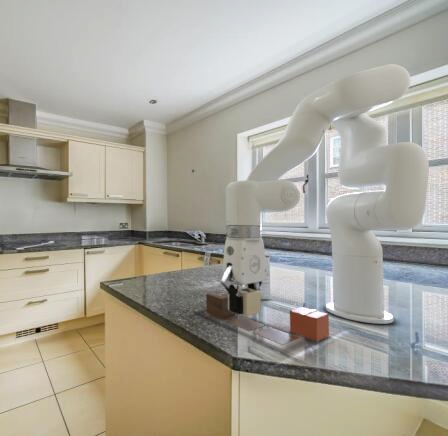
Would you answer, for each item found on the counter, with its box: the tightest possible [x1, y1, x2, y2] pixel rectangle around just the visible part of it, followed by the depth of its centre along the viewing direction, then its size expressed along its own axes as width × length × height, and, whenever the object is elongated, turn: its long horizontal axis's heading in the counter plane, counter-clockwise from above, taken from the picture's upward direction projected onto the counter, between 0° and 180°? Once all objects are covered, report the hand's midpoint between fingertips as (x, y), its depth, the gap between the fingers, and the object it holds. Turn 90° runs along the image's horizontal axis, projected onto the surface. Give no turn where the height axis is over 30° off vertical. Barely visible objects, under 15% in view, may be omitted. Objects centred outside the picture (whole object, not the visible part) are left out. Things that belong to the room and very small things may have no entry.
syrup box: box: [243, 252, 271, 300], centre depth 80 cm, size 6×6×14 cm
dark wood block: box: [205, 290, 236, 319], centre depth 64 cm, size 5×5×5 cm
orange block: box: [289, 306, 330, 342], centre depth 53 cm, size 6×5×5 cm
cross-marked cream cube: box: [228, 286, 262, 317], centre depth 58 cm, size 5×5×5 cm
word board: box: [203, 310, 300, 346], centre depth 58 cm, size 9×22×1 cm, turn 28°
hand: (244, 309), depth 58 cm, fingers closed on cross-marked cream cube, 5 cm apart
